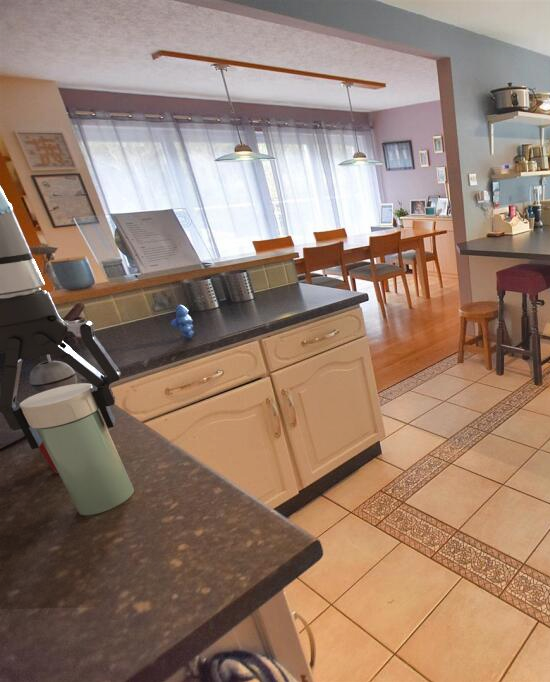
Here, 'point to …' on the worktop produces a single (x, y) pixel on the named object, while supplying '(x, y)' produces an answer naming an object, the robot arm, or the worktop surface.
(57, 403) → the thermos lid
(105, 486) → the thermos
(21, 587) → the worktop surface
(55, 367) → the beverage cup
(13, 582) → the worktop surface
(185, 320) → the grapes
